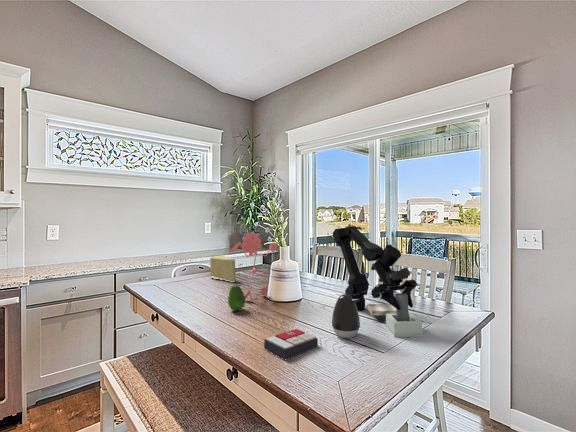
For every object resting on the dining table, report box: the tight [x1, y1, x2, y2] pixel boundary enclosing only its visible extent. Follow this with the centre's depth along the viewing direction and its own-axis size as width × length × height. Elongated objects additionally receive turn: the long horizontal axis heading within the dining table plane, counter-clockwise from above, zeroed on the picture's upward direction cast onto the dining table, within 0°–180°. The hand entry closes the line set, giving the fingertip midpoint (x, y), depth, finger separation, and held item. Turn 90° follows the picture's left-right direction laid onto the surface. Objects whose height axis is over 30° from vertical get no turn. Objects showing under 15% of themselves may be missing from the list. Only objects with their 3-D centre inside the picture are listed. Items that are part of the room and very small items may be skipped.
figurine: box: [229, 230, 277, 302], centre depth 167 cm, size 15×26×35 cm, turn 128°
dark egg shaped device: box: [331, 293, 361, 339], centre depth 117 cm, size 10×10×15 cm
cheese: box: [209, 255, 237, 282], centre depth 208 cm, size 22×10×15 cm, turn 43°
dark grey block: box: [394, 292, 410, 321], centre depth 121 cm, size 4×4×12 cm
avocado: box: [227, 284, 246, 311], centre depth 148 cm, size 8×8×12 cm
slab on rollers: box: [366, 303, 396, 321], centre depth 135 cm, size 14×9×4 cm, turn 90°
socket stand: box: [385, 312, 423, 338], centre depth 120 cm, size 10×10×5 cm
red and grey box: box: [263, 328, 319, 361], centre depth 109 cm, size 11×4×15 cm
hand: (405, 308), depth 119 cm, fingers open, 6 cm apart
